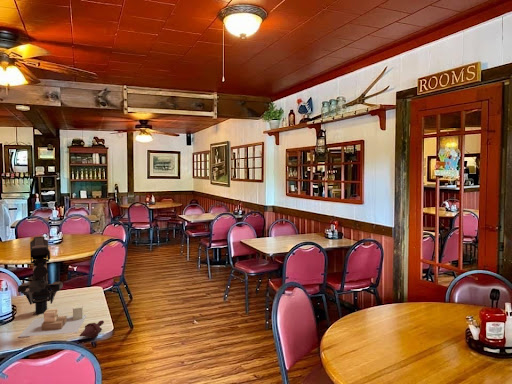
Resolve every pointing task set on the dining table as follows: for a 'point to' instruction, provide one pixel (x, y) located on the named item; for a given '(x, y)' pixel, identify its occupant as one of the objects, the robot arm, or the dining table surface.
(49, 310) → the maple block
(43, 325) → the plinth
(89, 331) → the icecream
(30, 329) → the mat
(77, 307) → the beige rectangular block
